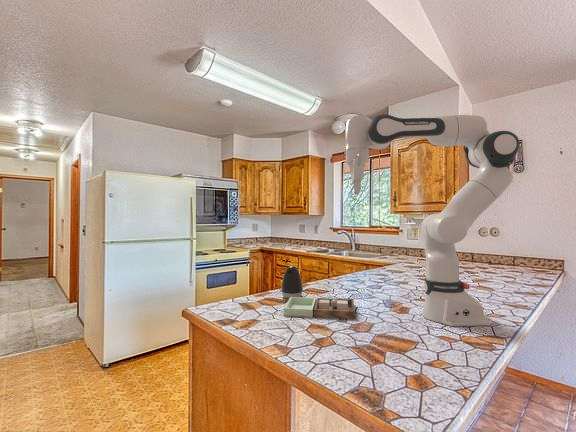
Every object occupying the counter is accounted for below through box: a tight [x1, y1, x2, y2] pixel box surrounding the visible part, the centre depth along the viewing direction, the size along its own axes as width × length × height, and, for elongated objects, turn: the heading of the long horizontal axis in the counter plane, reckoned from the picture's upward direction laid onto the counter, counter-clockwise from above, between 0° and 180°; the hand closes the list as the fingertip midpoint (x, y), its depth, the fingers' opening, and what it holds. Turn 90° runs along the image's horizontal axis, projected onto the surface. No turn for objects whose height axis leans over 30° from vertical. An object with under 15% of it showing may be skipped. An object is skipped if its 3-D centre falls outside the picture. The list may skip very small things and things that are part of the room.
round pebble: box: [331, 298, 338, 308], centre depth 123 cm, size 3×3×3 cm
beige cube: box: [319, 300, 330, 310], centre depth 118 cm, size 4×4×4 cm
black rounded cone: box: [280, 265, 304, 300], centre depth 140 cm, size 10×10×15 cm
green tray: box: [283, 296, 317, 318], centre depth 121 cm, size 11×16×4 cm
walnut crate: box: [313, 297, 356, 320], centre depth 119 cm, size 15×16×4 cm
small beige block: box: [337, 300, 348, 311], centre depth 117 cm, size 4×4×4 cm
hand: (357, 193), depth 118 cm, fingers open, 8 cm apart
